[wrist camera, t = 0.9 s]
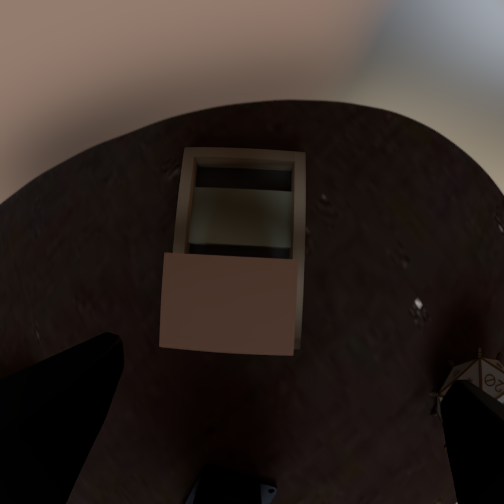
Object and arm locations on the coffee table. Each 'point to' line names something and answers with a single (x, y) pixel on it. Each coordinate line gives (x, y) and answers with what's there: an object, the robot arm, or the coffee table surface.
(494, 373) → the game die
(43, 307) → the coffee table surface
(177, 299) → the terracotta block
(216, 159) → the box
